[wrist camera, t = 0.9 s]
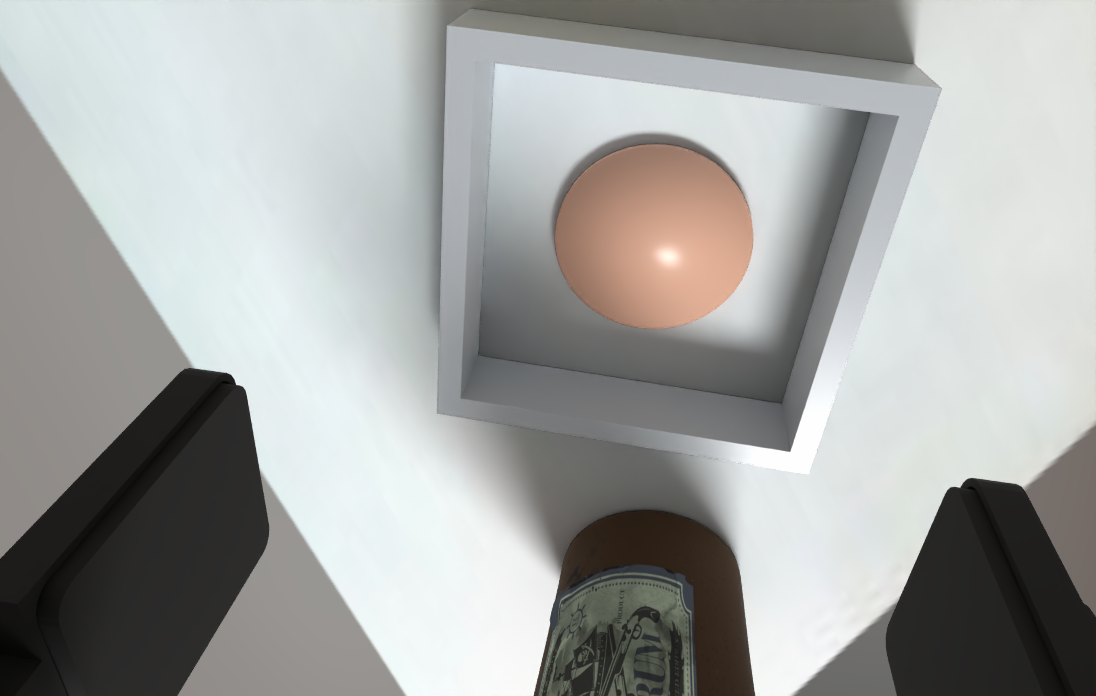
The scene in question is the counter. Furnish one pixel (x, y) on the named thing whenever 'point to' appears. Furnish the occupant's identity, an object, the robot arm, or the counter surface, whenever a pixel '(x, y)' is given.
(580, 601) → the brown glass bottle
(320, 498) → the counter surface
